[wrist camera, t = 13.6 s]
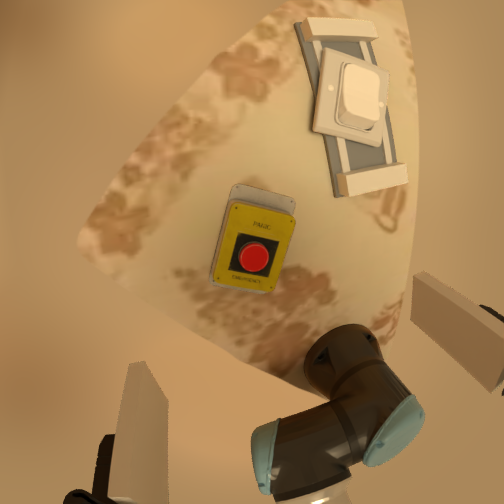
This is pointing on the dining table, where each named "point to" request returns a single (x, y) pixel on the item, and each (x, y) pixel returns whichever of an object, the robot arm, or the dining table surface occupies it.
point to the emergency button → (252, 240)
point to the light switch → (351, 98)
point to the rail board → (338, 149)
